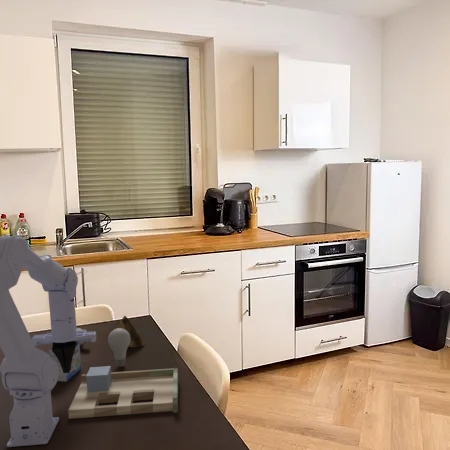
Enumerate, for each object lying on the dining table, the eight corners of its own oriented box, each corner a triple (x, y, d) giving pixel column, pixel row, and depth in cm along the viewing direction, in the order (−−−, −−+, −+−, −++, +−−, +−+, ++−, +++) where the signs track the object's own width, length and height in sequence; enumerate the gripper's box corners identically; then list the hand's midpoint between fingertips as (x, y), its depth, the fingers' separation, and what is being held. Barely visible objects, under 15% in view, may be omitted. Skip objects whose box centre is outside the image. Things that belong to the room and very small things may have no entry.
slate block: (108, 390, 110) (107, 374, 110) (87, 392, 110) (86, 376, 109) (111, 381, 115) (110, 366, 114) (91, 382, 114) (90, 367, 114)
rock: (103, 334, 148) (108, 340, 139) (118, 310, 150) (124, 315, 141) (132, 349, 151) (138, 356, 142) (145, 326, 153) (153, 331, 144)
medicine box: (66, 382, 120) (64, 350, 119) (51, 381, 120) (48, 349, 119) (81, 369, 127) (79, 339, 126) (67, 368, 128) (64, 338, 127)
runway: (177, 412, 103) (177, 397, 103) (68, 420, 101) (67, 405, 100) (178, 380, 118) (177, 368, 118) (83, 387, 116) (82, 374, 116)
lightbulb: (109, 372, 124) (107, 333, 123) (109, 363, 130) (106, 326, 129) (132, 369, 126) (130, 331, 125) (131, 361, 132) (129, 324, 130)
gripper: (97, 310, 114) (100, 362, 116) (36, 313, 113) (41, 366, 114) (91, 319, 107) (95, 374, 109) (27, 323, 106) (32, 379, 107)
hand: (67, 371), depth 111 cm, fingers closed
